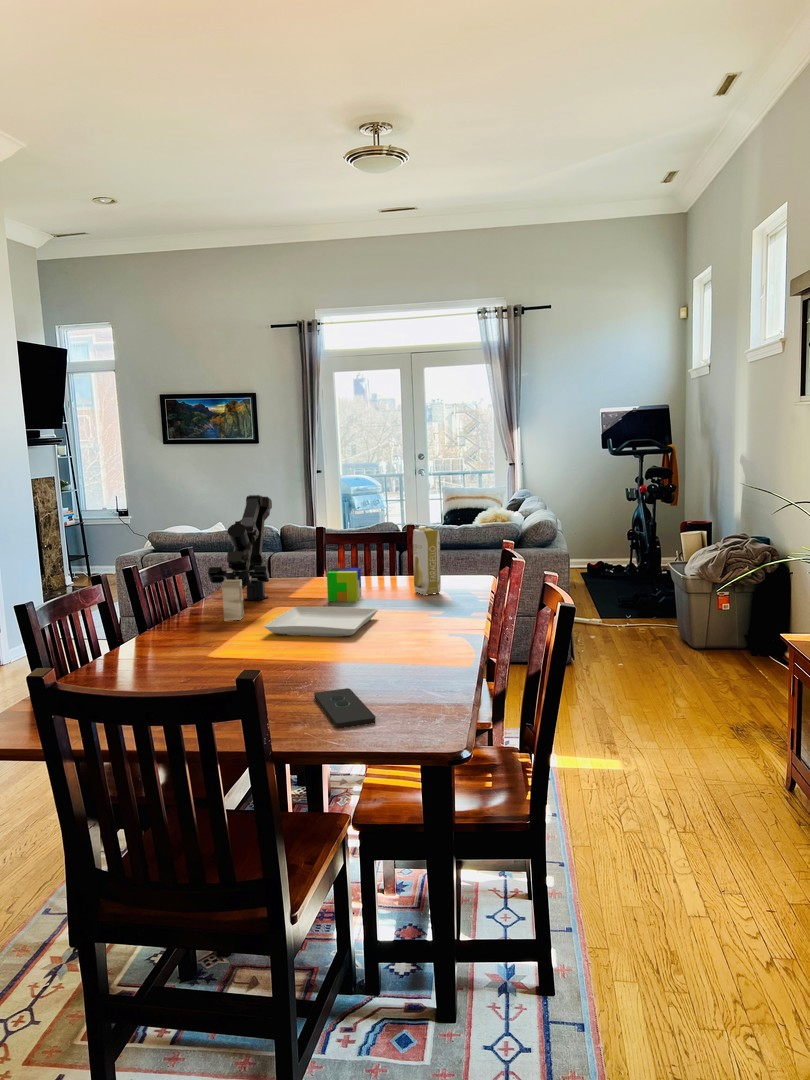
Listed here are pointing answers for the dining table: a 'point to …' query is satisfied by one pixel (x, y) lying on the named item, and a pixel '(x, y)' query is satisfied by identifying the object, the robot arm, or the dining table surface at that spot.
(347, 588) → the puzzle toy
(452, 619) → the dining table surface
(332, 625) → the square plate
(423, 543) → the juice carton
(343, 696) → the smart home device
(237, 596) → the metal block
